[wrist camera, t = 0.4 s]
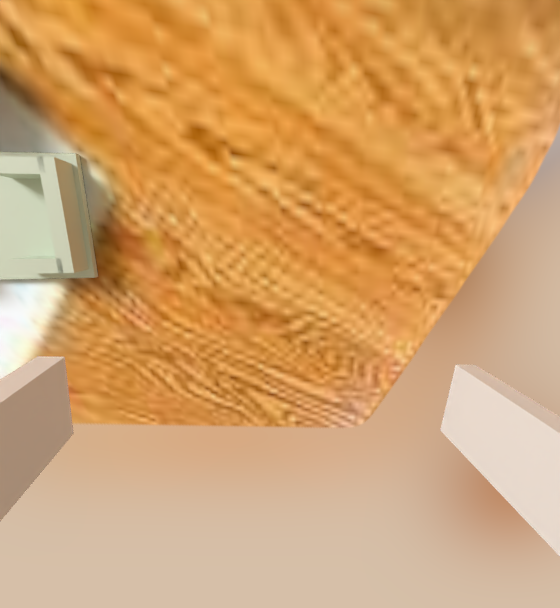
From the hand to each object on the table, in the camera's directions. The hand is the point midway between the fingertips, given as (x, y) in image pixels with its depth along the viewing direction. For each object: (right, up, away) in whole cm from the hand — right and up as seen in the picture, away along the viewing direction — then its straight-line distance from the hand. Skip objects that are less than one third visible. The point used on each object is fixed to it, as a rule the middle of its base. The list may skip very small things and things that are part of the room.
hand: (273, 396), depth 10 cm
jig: (-31, +12, +22) cm, 40 cm away
